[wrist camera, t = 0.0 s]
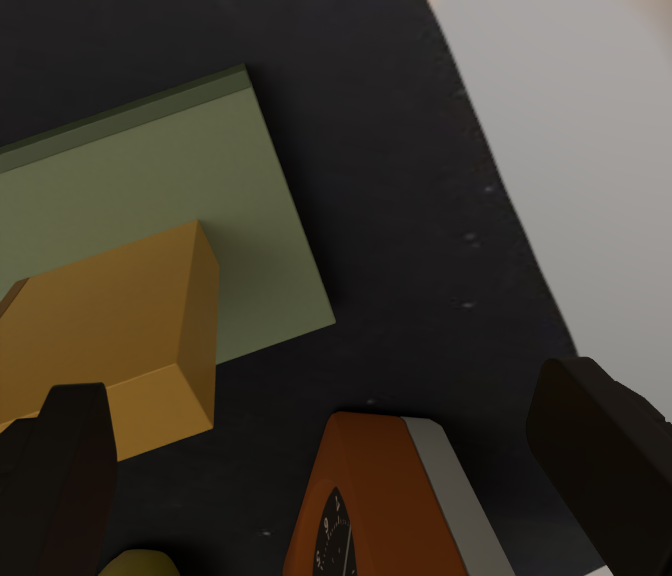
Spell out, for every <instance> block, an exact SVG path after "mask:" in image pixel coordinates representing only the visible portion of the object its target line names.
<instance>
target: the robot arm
mask: <svg viewBox="0 0 672 576" xmlns="http://www.w3.org/2000/svg"><path fill="white" fill-rule="evenodd" d="M526 435H527V440H528V444H529V447H530V449H531V451H532V453H533V455H534V456H535V458H536V459H537V461H538V462H539V464H540V465H541V467H542V468H543V470H544V471H545V473H546V474H547V476H548V477H549V479H550V480H551V482H552V483H553V485H554V487H555V488H556V490H557V491H558V493H559V494H560V496H561V497H562V499H563V500H564V502H565V503H566V505H567V506H568V508H569V509H570V511H571V512H572V514H573V515H574V517H575V518H576V520H577V521H578V523H579V524H580V526H581V527H582V529H583V530H584V532H585V533H586V535H587V536H588V538H589V539H590V541H591V542H592V544H593V545H594V547H595V548H596V550H597V551H598V553H599V554H600V556H601V557H602V559H603V560H604V562H605V563H606V565H607V566H608V568H609V569H610V571H611V572H612V574H613V575H614V576H672V424H671V423H670V422H666V421H665V417H664V416H663V415H662V414H661V413H660V412H659V411H658V410H657V409H656V408H654V407H653V406H652V405H651V404H650V403H649V402H648V401H647V400H646V399H645V398H644V397H642V396H641V395H639V394H637V393H636V392H634V391H632V390H631V389H629V388H627V387H626V386H624V385H622V384H621V383H619V382H617V381H614V380H613V379H612V378H611V377H610V376H609V375H608V374H607V373H606V372H605V371H604V370H603V369H602V368H601V367H600V366H599V365H598V364H597V363H596V362H595V361H594V360H593V359H591V358H589V357H570V358H552V359H548V360H546V361H545V362H544V364H543V365H542V368H541V371H540V374H539V378H538V382H537V385H536V389H535V392H534V396H533V399H532V403H531V407H530V410H529V414H528V417H527V422H526ZM117 470H118V459H117V448H116V442H115V437H114V431H113V425H112V419H111V413H110V407H109V402H108V396H107V391H106V387H105V385H104V383H102V382H95V383H77V384H58V385H53V386H52V387H51V389H50V391H49V393H48V395H47V397H46V399H45V401H44V403H43V405H42V408H41V410H40V412H39V414H38V416H37V417H33V418H18V419H16V420H14V421H13V422H12V423H11V424H10V425H9V426H8V427H7V428H6V429H4V430H3V431H2V432H1V433H0V576H95V573H96V569H97V565H98V560H99V556H100V552H101V548H102V543H103V539H104V535H105V531H106V526H107V522H108V518H109V514H110V509H111V505H112V501H113V497H114V492H115V488H116V482H117Z"/></svg>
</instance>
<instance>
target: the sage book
mask: <svg viewBox="0 0 672 576" xmlns="http://www.w3.org/2000/svg"><path fill="white" fill-rule="evenodd" d="M195 220H198V221H199V223H200V225H201V227H202V229H203V231H204V234H205V236H206V238H207V240H208V242H209V244H210V247H211V249H212V251H213V253H214V255H215V258H216V260H217V262H218V264H219V266H220V272H219V297H218V321H217V346H216V365H217V364H220V363H222V362H225V361H228V360H231V359H234V358H237V357H240V356H242V355H245V354H248V353H251V352H254V351H257V350H260V349H262V348H265V347H268V346H271V345H274V344H277V343H280V342H282V341H285V340H288V339H291V338H294V337H297V336H300V335H302V334H305V333H308V332H311V331H314V330H317V329H320V328H322V327H325V326H328V325H331V324H334V323H336V321H335V318H334V314H333V311H332V308H331V305H330V302H329V299H328V296H327V294H326V291H325V288H324V285H323V282H322V279H321V277H320V274H319V271H318V268H317V265H316V263H315V260H314V257H313V254H312V251H311V249H310V246H309V243H308V240H307V237H306V235H305V232H304V229H303V226H302V223H301V221H300V218H299V215H298V212H297V209H296V207H295V204H294V201H293V198H292V195H291V193H290V190H289V187H288V184H287V181H286V179H285V176H284V173H283V170H282V167H281V165H280V162H279V159H278V156H277V153H276V151H275V148H274V145H273V142H272V139H271V137H270V134H269V131H268V128H267V125H266V123H265V120H264V117H263V114H262V111H261V109H260V106H259V103H258V100H257V97H256V95H255V92H254V89H253V86H252V83H251V81H250V78H249V75H248V72H247V69H246V67H245V64H244V63H243V64H240V65H237V66H234V67H231V68H228V69H225V70H222V71H220V72H217V73H214V74H211V75H208V76H205V77H202V78H199V79H196V80H194V81H191V82H188V83H185V84H182V85H179V86H176V87H173V88H170V89H167V90H165V91H162V92H159V93H156V94H153V95H150V96H147V97H144V98H141V99H139V100H136V101H133V102H130V103H127V104H124V105H121V106H118V107H115V108H112V109H110V110H107V111H104V112H101V113H98V114H95V115H92V116H89V117H86V118H84V119H81V120H78V121H75V122H72V123H69V124H66V125H63V126H60V127H57V128H55V129H52V130H49V131H46V132H43V133H40V134H37V135H34V136H31V137H29V138H26V139H23V140H20V141H17V142H14V143H11V144H8V145H5V146H3V147H0V302H1V300H2V299H3V298H4V296H5V295H6V294H7V293H8V291H9V290H10V289H11V287H12V286H13V285H14V283H15V282H17V281H19V280H22V279H25V278H28V277H29V278H31V277H34V276H37V275H40V274H42V273H45V272H48V271H51V270H54V269H57V268H60V267H63V266H65V265H68V264H71V263H74V262H77V261H80V260H83V259H86V258H88V257H91V256H94V255H97V254H100V253H103V252H106V251H109V250H111V249H114V248H117V247H120V246H123V245H126V244H129V243H132V242H134V241H137V240H140V239H143V238H146V237H149V236H152V235H155V234H157V233H160V232H163V231H166V230H169V229H172V228H175V227H178V226H180V225H183V224H186V223H189V222H192V221H195Z"/></svg>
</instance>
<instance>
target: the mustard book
mask: <svg viewBox="0 0 672 576" xmlns="http://www.w3.org/2000/svg"><path fill="white" fill-rule="evenodd" d="M219 272H220V266H219V264H218V262H217V260H216V258H215V255H214V253H213V251H212V249H211V247H210V244H209V242H208V240H207V238H206V236H205V234H204V231H203V229H202V227H201V225H200V223H199V221H198V220H195V221H192V222H189V223H186V224H183V225H180V226H178V227H175V228H172V229H169V230H166V231H163V232H160V233H157V234H155V235H152V236H149V237H146V238H143V239H140V240H137V241H134V242H132V243H129V244H126V245H123V246H120V247H117V248H114V249H111V250H109V251H106V252H103V253H100V254H97V255H94V256H91V257H88V258H86V259H83V260H80V261H77V262H74V263H71V264H68V265H65V266H63V267H60V268H57V269H54V270H51V271H48V272H45V273H42V274H40V275H37V276H34V277H31V278H29V277H28V278H25V279H22V280H19V281H17V282H15V283H14V285H13V286H12V287H11V289H10V290H9V291H8V293H7V294H6V295H5V296H4V298H3V299H2V300H1V302H0V433H1V432H2V431H3V430H4V429H6V428H7V427H8V426H9V425H10V424H11V423H12V422H13V421H14V420H16V419H18V418H33V417H37V416H38V414H39V412H40V410H41V408H42V405H43V403H44V401H45V399H46V397H47V395H48V393H49V391H50V389H51V387H52V386H53V385H58V384H77V383H95V382H102V383H104V385H105V387H106V391H107V396H108V402H109V407H110V413H111V419H112V425H113V431H114V437H115V442H116V448H117V459H118V461H121V460H124V459H127V458H130V457H132V456H135V455H138V454H141V453H144V452H147V451H150V450H152V449H155V448H158V447H161V446H164V445H167V444H170V443H172V442H175V441H178V440H181V439H184V438H187V437H189V436H192V435H195V434H198V433H201V432H204V431H207V430H209V429H212V428H213V419H214V395H215V370H216V346H217V321H218V297H219Z"/></svg>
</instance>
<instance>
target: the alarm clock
mask: <svg viewBox="0 0 672 576" xmlns="http://www.w3.org/2000/svg"><path fill="white" fill-rule="evenodd" d="M282 576H515V574H514V572H513V570H512V568H511V566H510V564H509V562H508V560H507V558H506V556H505V554H504V552H503V550H502V547H501V545H500V543H499V541H498V539H497V537H496V535H495V533H494V531H493V529H492V527H491V525H490V523H489V521H488V519H487V517H486V515H485V513H484V511H483V509H482V507H481V505H480V503H479V501H478V499H477V497H476V495H475V493H474V491H473V489H472V487H471V485H470V483H469V481H468V479H467V477H466V475H465V473H464V471H463V469H462V467H461V465H460V463H459V461H458V459H457V457H456V455H455V453H454V451H453V449H452V447H451V445H450V443H449V441H448V438H447V436H446V434H445V432H444V430H443V428H442V426H440V425H439V424H437V423H435V422H434V421H432V420H430V419H423V418H411V417H397V416H388V415H376V414H365V413H353V412H341V411H339V412H336V413H334V414H332V415H331V416H330V418H329V420H328V422H327V424H326V427H325V430H324V434H323V437H322V440H321V443H320V447H319V450H318V453H317V456H316V460H315V463H314V466H313V470H312V473H311V476H310V479H309V483H308V486H307V489H306V493H305V496H304V500H303V503H302V506H301V509H300V512H299V515H298V519H297V522H296V525H295V528H294V532H293V535H292V538H291V542H290V545H289V548H288V552H287V555H286V558H285V562H284V565H283V572H282Z"/></svg>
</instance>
